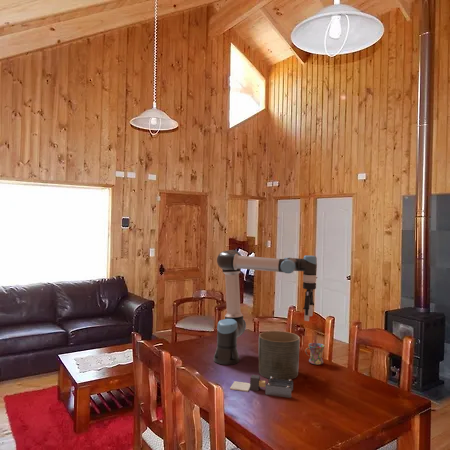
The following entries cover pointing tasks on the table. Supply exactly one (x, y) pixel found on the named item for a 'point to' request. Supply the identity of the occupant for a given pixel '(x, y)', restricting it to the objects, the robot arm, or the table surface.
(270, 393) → the shaft channel
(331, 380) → the table surface
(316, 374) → the table surface
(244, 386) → the coaster
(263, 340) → the planter
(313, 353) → the mug
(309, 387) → the table surface
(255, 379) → the plug
